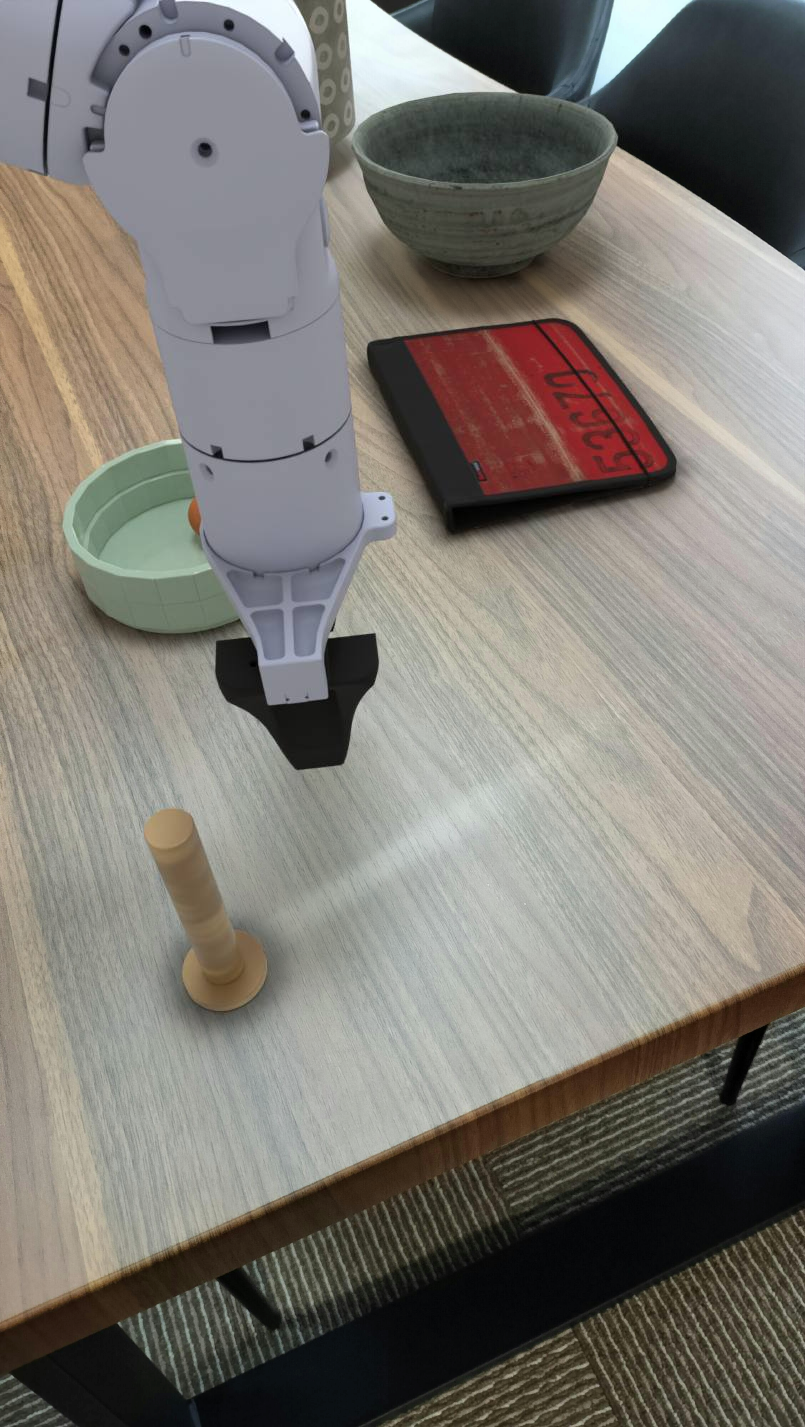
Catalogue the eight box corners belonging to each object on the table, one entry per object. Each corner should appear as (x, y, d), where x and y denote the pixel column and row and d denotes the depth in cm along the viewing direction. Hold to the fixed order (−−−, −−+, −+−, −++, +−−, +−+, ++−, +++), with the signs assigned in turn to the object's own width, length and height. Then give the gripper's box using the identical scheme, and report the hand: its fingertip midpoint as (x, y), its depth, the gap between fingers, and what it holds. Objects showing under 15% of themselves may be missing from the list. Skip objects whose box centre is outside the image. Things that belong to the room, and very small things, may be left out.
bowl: (318, 293, 85) (302, 164, 77) (422, 191, 97) (417, 71, 89) (558, 335, 78) (566, 199, 71) (637, 220, 90) (651, 94, 83)
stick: (183, 1016, 43) (114, 877, 35) (185, 941, 46) (121, 793, 38) (268, 1005, 44) (219, 863, 35) (266, 930, 46) (219, 781, 38)
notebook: (446, 505, 61) (364, 338, 75) (446, 536, 63) (365, 367, 77) (693, 461, 64) (570, 307, 78) (686, 492, 66) (566, 336, 79)
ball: (193, 553, 63) (182, 513, 60) (194, 522, 65) (183, 483, 62) (242, 547, 63) (233, 507, 60) (241, 517, 65) (232, 477, 62)
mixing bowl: (75, 650, 58) (50, 591, 55) (94, 508, 67) (74, 450, 64) (305, 622, 59) (295, 562, 56) (295, 485, 68) (285, 425, 64)
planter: (397, 150, 104) (384, -71, 90) (255, 216, 95) (218, -17, 82) (272, 111, 113) (244, -95, 99) (133, 168, 104) (81, -48, 91)
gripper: (410, 538, 29) (427, 818, 39) (368, 293, 38) (391, 569, 49) (159, 565, 29) (243, 839, 39) (180, 312, 38) (243, 586, 48)
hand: (314, 691), depth 44 cm, fingers open, 7 cm apart
